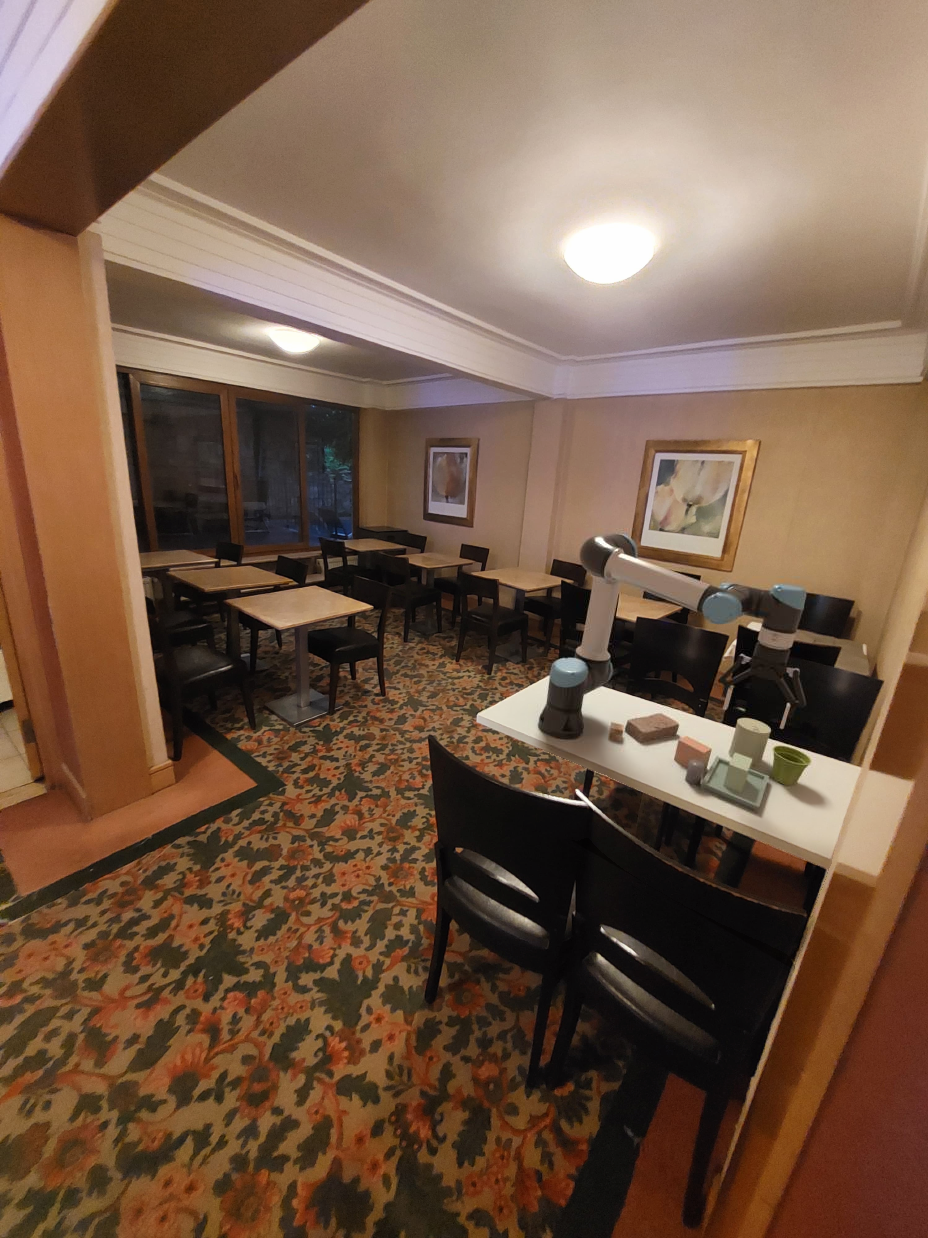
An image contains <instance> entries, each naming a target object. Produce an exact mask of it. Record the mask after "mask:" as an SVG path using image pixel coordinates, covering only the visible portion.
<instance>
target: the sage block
mask: <svg viewBox="0 0 928 1238" xmlns="http://www.w3.org/2000/svg"><path fill="white" fill-rule="evenodd" d="M730 761H731V762H730V764H729V767H728V770H727V774H726V777H725V781H724V785H723V786H726V787H728V788H731V789H733V790H735V791H738V792H740V793H741V792H742V790H743V787H744V785H745V782H746V780H747V776H748V773H749V769H751V767H752V766H751V763H752V759H751V758H749V757H746V756H743V755H741V754H738V753H734V755H733V757H731V760H730Z"/></svg>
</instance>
